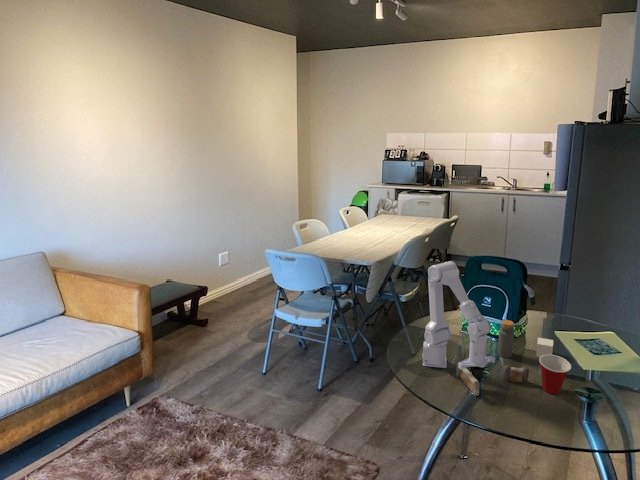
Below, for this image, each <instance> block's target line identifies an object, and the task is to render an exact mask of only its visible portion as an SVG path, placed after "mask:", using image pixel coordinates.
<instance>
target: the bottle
mask: <svg viewBox="0 0 640 480" xmlns="http://www.w3.org/2000/svg"><path fill="white" fill-rule="evenodd" d="M514 328H515V327H514V321H512V320H509V319H502V320H501V324H500V330H499V331H498V341H497V342H498V343H497V355H498V354H499V355H500V356H499V355H498V356H499V357H501V356H502V357H501V358H504V357H505V358H506V359H509V358H511V357H512V356H513V349H514V340H515V337H514V336H515V333H514ZM505 358H504V359H505Z"/></svg>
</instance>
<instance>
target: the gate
mask: <svg viewBox="0 0 640 480" xmlns="http://www.w3.org/2000/svg"><path fill="white" fill-rule="evenodd" d="M459 378H460V379H461V380H462V381H463V383H464V384H465V385H466V386H467V387H468V388H469V390H470V391H471V392H472V393H473V396H474V397H478V396H479V395H480V386H481V385H480V383H481V382H479V381H477V380H476V379H475V377H474V376H473V375H472V373H471V371H470V369H468V367H466V368H463V369H462V370H461V372H460V377H459Z"/></svg>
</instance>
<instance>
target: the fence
mask: <svg viewBox="0 0 640 480" xmlns="http://www.w3.org/2000/svg"><path fill="white" fill-rule="evenodd" d="M503 366H504V367H503V376H502V377H503V378H502V381H504V382H507V383H508V382H515V383H522V384H524V385H525V384H526V385H527V384H529V375H530V374H529V373H530V367H527V366H522V367H512V366H511V365H508V364H505V365H503Z"/></svg>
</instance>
